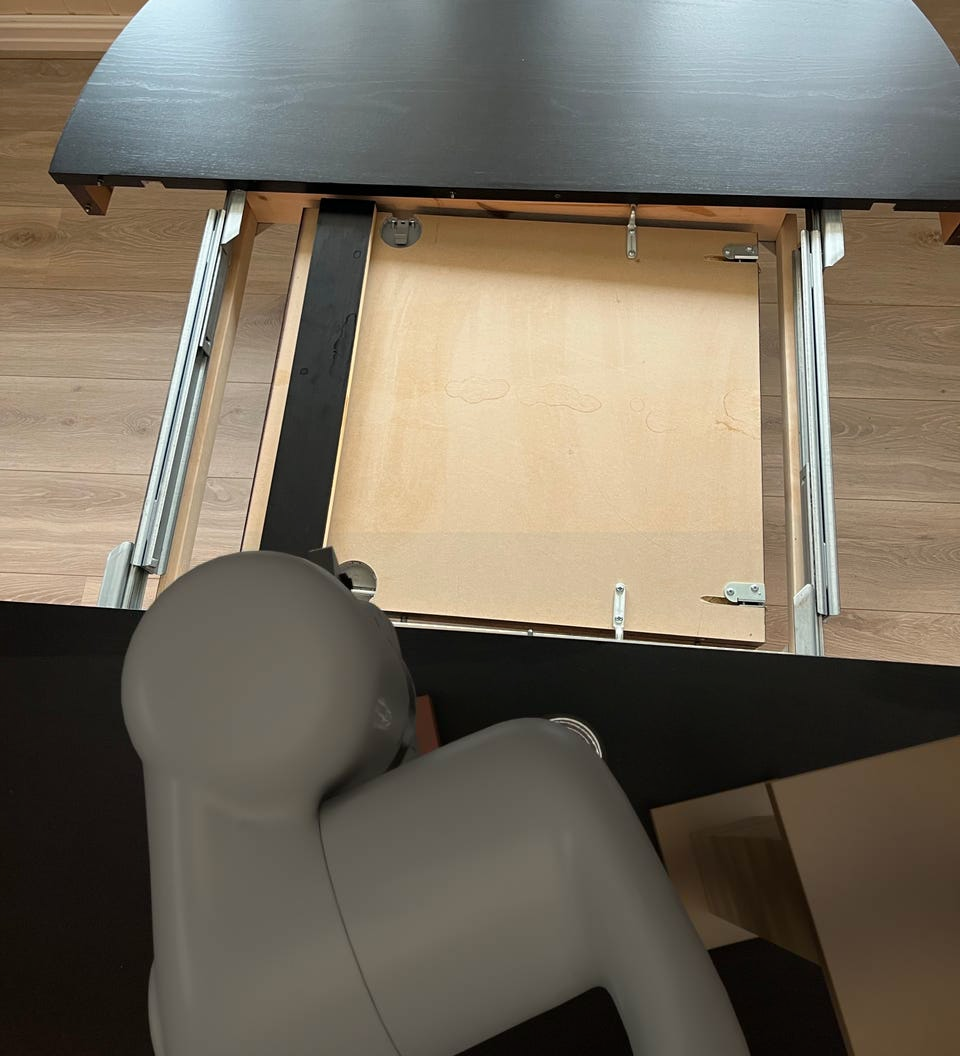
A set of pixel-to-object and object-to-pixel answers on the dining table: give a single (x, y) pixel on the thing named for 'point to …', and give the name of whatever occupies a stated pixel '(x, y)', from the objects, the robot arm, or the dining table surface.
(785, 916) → the pedestal
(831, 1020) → the dining table surface
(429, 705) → the block
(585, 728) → the wineglass
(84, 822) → the dining table surface
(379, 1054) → the robot arm
